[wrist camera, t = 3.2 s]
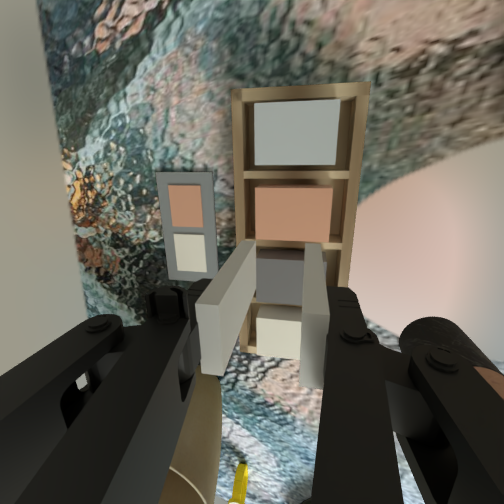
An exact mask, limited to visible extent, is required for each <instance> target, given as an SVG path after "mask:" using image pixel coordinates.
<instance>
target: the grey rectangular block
mask: <svg viewBox="0 0 504 504" xmlns="http://www.w3.org/2000/svg"><path fill="white" fill-rule="evenodd" d="M304 257H305V251H300V250H279V249H260V251H259V253H258V255H257V257H256V302H266V303H278V304H290V305H302V296H303V276H304ZM322 258H323V266H324V274H325V281H326V269H327V259H326V253H325V252H322Z"/></svg>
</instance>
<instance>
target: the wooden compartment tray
mask: <svg viewBox="0 0 504 504" xmlns="http://www.w3.org/2000/svg"><path fill="white" fill-rule="evenodd" d="M370 86H371V81H370V82H352V83H334V84H316V85H298V86H280V87H262V88H245V89H231V109H232V137H233V166H234V194H235V223H236V247H237V246H238V245H239V243H240V242H241V241H242V240H246V241H256V257H257V255H258V253H259V251H260V249H279V250H300V251H305V243H315V244H321V251H322V252H325V253H326V259H327V269H326V286H335V287H348V280H349V271H350V262H351V253H352V245H353V236H354V227H355V218H356V210H357V201H358V192H359V183H360V174H361V166H362V157H363V148H364V139H365V130H366V122H367V113H368V104H369V95H370ZM334 99H341V100H340V112H339V124H338V136H337V148H336V161H335V165H255V131H254V103H269V102H291V101H312V100H334ZM260 184H313V185H331V186H332V187H333V197H332V209H331V221H330V233H329V242H306V241H283V240H259V239H256V228H255V188H256V187H257V186H258V185H260ZM261 304H268V305H280V306H292V307H302V305H290V304H278V303H266V302H256V290H255V293H254V295H253V298H252V301H251V303H250V306H249V309H248V311H247V314H246V316H245V319H244V322H243V324H242V327H241V330H240V332H239V337H240V352H247V353H256V354H257V325H256V318H257V314H258V311H259V308H260V305H261Z"/></svg>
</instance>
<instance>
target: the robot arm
mask: <svg viewBox="0 0 504 504" xmlns="http://www.w3.org/2000/svg"><path fill="white" fill-rule="evenodd" d="M255 290H256V241H246V240H242V241H241V242H240V243H239V245H238V246H237V247H236V249H235V250H234V251H233V253H232V254H231V255H230V257H229V258H228V259H227V261H226V262H225V264H224V265H223V266H222V268H221V269H220V270H219V272H218V273H217V274H216V276H215V277H214V278H213V279H207V278H202V279H200V280H198V281H196V282H195V283H193V284H192V285H191V287H190V288H189V289H188V290H187V291H186V290H185V289H184V288H182V287H180V286H163V287H159V288H156V289H153V290H151V291H149V292H148V293H147V294H145V300H146V306H147V312H148V319H147V321H146V322H145V323H144V325H137V326H127V327H123V323H122V319H121V318H120V316H117V315H114V314H103V315H102V314H101V315H97V316H95V317H92V318H89V319H87V320H85V321H84V322H82V323H80V324H79V325H77V326H76V327H74V328H73V329H71V330H70V331H68V332H67V333H65V334H64V335H62V336H60V337H59V338H57V339H56V340H54V341H53V342H51V343H50V344H48V345H47V346H45V347H44V348H42V349H41V350H39V351H38V352H37V353H35V354H33V355H32V356H30V357H29V358H27V359H26V360H24V361H23V362H21V363H20V364H18V365H17V366H15V367H14V368H12V369H11V370H9V371H8V372H6V373H5V374H3V375H1V376H0V504H158V502H159V499H160V496H161V493H162V490H163V486H164V483H165V480H166V477H167V474H168V471H169V467H170V464H171V461H172V458H173V455H174V451H175V448H176V445H177V442H178V439H179V436H180V432H181V429H182V426H183V423H184V420H185V417H186V413H187V410H188V407H189V404H190V401H191V397H192V394H193V391H194V388H195V385H196V372H195V370H196V368H197V366H198V364H199V362H200V361H201V372H202V373H203V374H211V375H218V376H223V375H224V372H225V369H226V367H227V364H228V361H229V359H230V356H231V354H232V351H233V348H234V346H235V343H236V340H237V338H238V335H239V332H240V330H241V327H242V324H243V322H244V319H245V316H246V314H247V311H248V309H249V306H250V303H251V301H252V298H253V295H254V293H255ZM84 373H85V376H86V380H87V385H86V386H85V387H83V388H81V389H80V390H79V389H78V387H77V384H76V380H77V379H78V378H79V377H80V376H81V375H82V374H84ZM323 384H324V387H323ZM299 386H300V387H307V388H315V389H322V390H323V396H322V405H321V414H320V423H319V432H318V442H317V451H316V460H315V469H314V478H313V487H312V496H311V504H404V501H403V495H402V488H401V482H400V475H399V469H398V462H397V455H396V449H395V442H394V436H393V431H394V432H396V436H397V439H398V441H399V443H400V446H401V448H402V450H403V453H404V455H405V458H406V460H407V462H408V465H409V467H410V469H411V472H412V474H413V476H414V479H415V481H416V483H417V486H418V488H419V490H420V493H421V495H422V498H423V500H424V502H425V504H504V399H503V398H502V397H501V396H500V395H499V394H498V393H497V392H496V391H495V390H494V389H493V387H492V386H491V385H490V384H489V383H488V382H487V381H486V380H485V379H484V378H483V377H482V376H481V374H480V373H479V372H478V371H477V370H476V369H475V368H474V367H473V366H472V365H471V364H470V363H469V362H468V361H467V360H466V359H465V358H463V357H462V356H461V355H459V354H457V353H455V352H453V351H451V350H449V349H447V348H443V347H440V346H434V345H419V346H417V347H415V348H414V349H413V351H412V354H411V356H410V355H407V354H404V353H400V352H397V351H394V350H391V349H389V348H386V347H384V346H383V345H381V344H379V340H378V338H377V336H376V334H375V333H373V332H372V331H371V330H370V329H368V328H367V326H366V323H365V320H364V317H363V314H362V311H361V309H360V305H359V303H358V299H357V296H356V294H355V293H354V292H353V291H352V290H351V289H349V288H348V287H335V286H326V281H325V274H324V266H323V258H322V251H321V244H315V243H305V257H304V276H303V296H302V320H301V345H300V369H299Z"/></svg>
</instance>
